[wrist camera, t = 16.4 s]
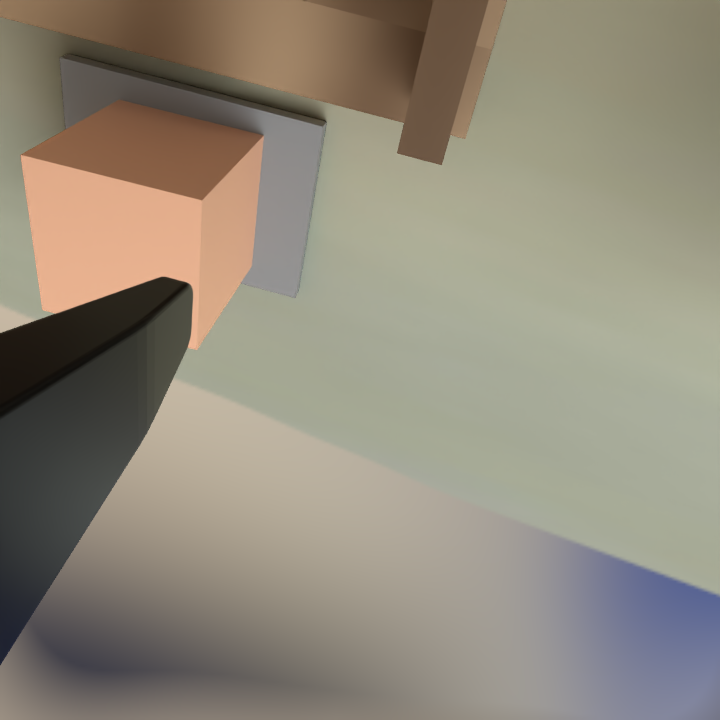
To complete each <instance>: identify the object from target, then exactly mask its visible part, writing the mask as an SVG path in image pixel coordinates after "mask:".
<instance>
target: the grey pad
mask: <svg viewBox="0 0 720 720" xmlns="http://www.w3.org/2000/svg"><path fill="white" fill-rule="evenodd" d="M60 70H61V82H62V94H63V107H64V119H65V130H66V129H67V128H69V127H71V126H73V125H75V124H76V123H78V122H80V121H82V120H83V119H85V118H87V117H89V116H91V115H92V114H94V113H96V112H98V111H100V110H101V109H103V108H105V107H107V106H108V105H110V104H112V103H114V102H116V101H117V100H123V101H127V102H131V103H135V104H139V105H143V106H147V107H151V108H155V109H159V110H163V111H167V112H171V113H175V114H179V115H183V116H187V117H191V118H195V119H199V120H203V121H208V122H212V123H216V124H220V125H224V126H228V127H232V128H236V129H240V130H244V131H248V132H252V133H256V134H260V135H264V140H263V151H262V162H261V173H260V183H259V194H258V205H257V216H256V227H255V238H254V249H253V259H252V267H251V268H250V270H249V271H248V273H247V274H246V276H245V277H244V279H243V280H242V282H241V284H245V285H249V286H252V287H256V288H260V289H263V290H267V291H271V292H275V293H278V294H282V295H286V296H289V297H293V298H295V297H296V295H297V293H298V291H299V286H300V280H301V274H302V268H303V262H304V256H305V250H306V244H307V238H308V232H309V226H310V220H311V214H312V208H313V202H314V196H315V190H316V184H317V178H318V172H319V166H320V160H321V153H322V147H323V141H324V135H325V129H326V123H327V122H326V121H322V120H318V119H314V118H311V117H307V116H303V115H299V114H295V113H292V112H288V111H284V110H280V109H276V108H273V107H269V106H265V105H261V104H257V103H254V102H250V101H246V100H242V99H238V98H235V97H231V96H227V95H223V94H219V93H216V92H212V91H208V90H204V89H200V88H197V87H193V86H189V85H185V84H181V83H178V82H174V81H170V80H166V79H162V78H159V77H155V76H151V75H147V74H143V73H140V72H136V71H132V70H128V69H124V68H121V67H117V66H113V65H109V64H105V63H102V62H98V61H94V60H90V59H86V58H83V57H79V56H75V55H71V54H67V55H64V56H62V57H60Z"/></svg>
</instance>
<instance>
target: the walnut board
mask: <svg viewBox="0 0 720 720" xmlns="http://www.w3.org/2000/svg"><path fill="white" fill-rule="evenodd" d="M506 2H507V0H0V17H3V18H7V19H11V20H14V21H18V22H22V23H26V24H30V25H33V26H37V27H41V28H45V29H49V30H52V31H56V32H60V33H64V34H68V35H72V36H75V37H79V38H83V39H87V40H91V41H94V42H98V43H102V44H106V45H110V46H113V47H117V48H121V49H125V50H129V51H132V52H136V53H140V54H144V55H148V56H151V57H155V58H159V59H163V60H167V61H171V62H174V63H178V64H182V65H186V66H190V67H193V68H197V69H201V70H205V71H209V72H212V73H216V74H220V75H224V76H228V77H231V78H235V79H239V80H243V81H247V82H250V83H254V84H258V85H262V86H266V87H270V88H273V89H277V90H281V91H285V92H289V93H292V94H296V95H300V96H304V97H308V98H311V99H315V100H319V101H323V102H327V103H330V104H334V105H338V106H342V107H346V108H349V109H353V110H357V111H361V112H365V113H369V114H372V115H376V116H380V117H384V118H388V119H391V120H395V121H399V122H403V123H404V126H403V130H402V134H401V139H400V143H399V147H398V151H397V153H398V154H402V155H405V156H409V157H413V158H417V159H421V160H424V161H428V162H432V163H436V164H440V165H442V162H443V159H444V155H445V152H446V148H447V145H448V141H449V138H450V135H452V136H456V137H460V138H464V139H465V138H466V134H467V131H468V128H469V124H470V121H471V118H472V114H473V111H474V108H475V105H476V101H477V98H478V95H479V91H480V88H481V85H482V81H483V78H484V75H485V71H486V68H487V65H488V61H489V58H490V55H491V51H492V48H493V45H494V41H495V38H496V35H497V31H498V28H499V25H500V21H501V18H502V15H503V12H504V8H505V5H506Z"/></svg>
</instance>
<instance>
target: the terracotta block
mask: <svg viewBox="0 0 720 720" xmlns="http://www.w3.org/2000/svg"><path fill="white" fill-rule="evenodd" d="M263 140H264V135H260V134H256V133H252V132H248V131H244V130H240V129H236V128H232V127H228V126H224V125H220V124H216V123H212V122H208V121H203V120H199V119H195V118H191V117H187V116H183V115H179V114H175V113H171V112H167V111H163V110H159V109H155V108H151V107H147V106H143V105H139V104H135V103H131V102H127V101H123V100H117V101H116V102H114V103H112V104H110V105H108V106H107V107H105V108H103V109H101V110H100V111H98V112H96V113H94V114H92V115H91V116H89V117H87V118H85V119H83V120H82V121H80V122H78V123H76V124H75V125H73V126H71V127H69V128H67V129H66V130H64V131H62V132H60V133H59V134H57V135H55V136H53V137H51V138H50V139H48V140H46V141H44V142H42V143H41V144H39V145H37V146H35V147H34V148H32V149H30V150H28V151H26V152H25V153H23V154H21V162H22V169H23V176H24V183H25V190H26V197H27V204H28V211H29V218H30V225H31V232H32V239H33V247H34V254H35V261H36V268H37V275H38V282H39V289H40V296H41V303H42V310H44V311H48V312H52V313H59V312H62V311H65V310H67V309H70V308H73V307H76V306H79V305H82V304H85V303H87V302H90V301H93V300H96V299H99V298H102V297H104V296H107V295H110V294H113V293H116V292H119V291H121V290H124V289H127V288H130V287H133V286H136V285H139V284H141V283H144V282H147V281H150V280H153V279H156V278H159V277H169V278H173V279H176V280H180V281H184V282H187V283H189V284H190V285H191V286H192V289H193V309H192V330H191V337H190V341H189V345H188V347H187V348H191V349H195V350H197V349H198V347H199V346H200V344H201V343H202V341H203V340H204V338H205V337H206V335H207V334H208V332H209V331H210V329H211V328H212V326H213V325H214V323H215V321H216V320H217V318H218V317H219V315H220V314H221V312H222V311H223V309H224V308H225V306H226V305H227V303H228V302H229V300H230V299H231V297H232V296H233V294H234V293H235V291H236V289H237V288H238V286H239V285H240V283H241V282H242V280H243V279H244V277H245V276H246V274H247V273H248V271H249V270H250V268H251V267H252V259H253V249H254V238H255V227H256V216H257V205H258V194H259V183H260V173H261V162H262V151H263Z"/></svg>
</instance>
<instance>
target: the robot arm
mask: <svg viewBox="0 0 720 720" xmlns="http://www.w3.org/2000/svg"><path fill="white" fill-rule="evenodd" d="M192 309H193V289H192V286H191V285H190V284H189V283H187V282H184V281H180V280H176V279H173V278H169V277H159V278H156V279H153V280H150V281H147V282H144V283H141V284H139V285H136V286H133V287H130V288H127V289H124V290H121V291H119V292H116V293H113V294H110V295H107V296H104V297H102V298H99V299H96V300H93V301H90V302H87V303H85V304H82V305H79V306H76V307H73V308H70V309H67V310H65V311H62V312H59V313H56V314H53V315H50V316H48V317H45V318H42V319H39V320H36V321H33V322H31V323H28V324H25V325H22V326H19V327H17V328H14V329H11V330H8V331H5V332H2V333H0V665H1V663H2V662H3V660H4V659H5V657H6V656H7V654H8V652H9V651H10V649H11V648H12V646H13V644H14V643H15V641H16V639H17V638H18V637H19V635H20V633H21V632H22V630H23V629H24V627H25V625H26V624H27V622H28V621H29V619H30V618H31V616H32V615H33V613H34V611H35V610H36V608H37V607H38V605H39V603H40V602H41V600H42V599H43V597H44V596H45V594H46V592H47V591H48V589H49V588H50V586H51V585H52V583H53V581H54V580H55V578H56V576H57V575H58V573H59V572H60V570H61V569H62V567H63V566H64V564H65V562H66V560H67V559H68V558H69V556H70V554H71V553H72V551H73V550H74V548H75V547H76V545H77V543H78V542H79V540H80V539H81V537H82V536H83V534H84V532H85V531H86V529H87V527H88V526H89V525H90V523H91V521H92V520H93V518H94V517H95V515H96V513H97V512H98V510H99V509H100V507H101V506H102V504H103V502H104V501H105V499H106V498H107V496H108V495H109V493H110V491H111V490H112V488H113V487H114V485H115V483H116V482H117V480H118V479H119V477H120V476H121V474H122V472H123V471H124V469H125V468H126V466H127V465H128V463H129V461H130V460H131V458H132V457H133V455H134V454H135V452H136V450H137V449H138V447H139V446H140V444H141V442H142V440H143V439H144V437H145V435H146V434H147V432H148V430H149V428H150V426H151V424H152V422H153V420H154V418H155V416H156V413H157V412H158V409H159V407H160V405H161V403H162V401H163V399H164V396H165V394H166V392H167V390H168V388H169V386H170V383H171V382H172V380H173V377H174V375H175V373H176V371H177V369H178V367H179V365H180V363H181V360H182V358H183V356H184V354H185V352H186V350H187V347H188V345H189V341H190V337H191V330H192Z"/></svg>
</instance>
